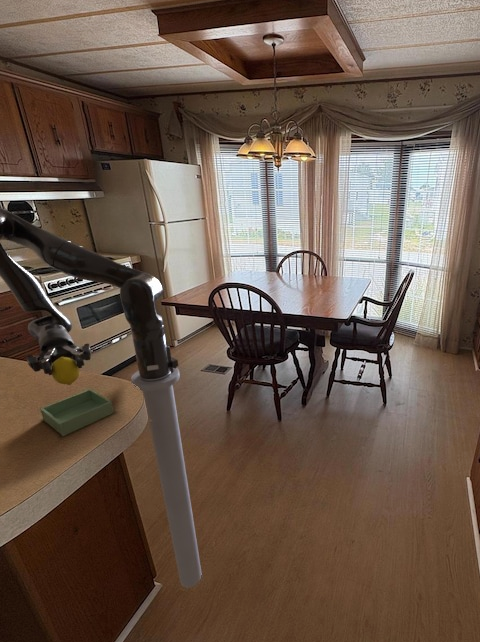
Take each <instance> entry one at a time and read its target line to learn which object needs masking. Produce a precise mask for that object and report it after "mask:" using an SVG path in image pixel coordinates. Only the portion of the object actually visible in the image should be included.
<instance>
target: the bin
mask: <svg viewBox="0 0 480 642" xmlns="http://www.w3.org/2000/svg"><path fill="white" fill-rule="evenodd" d="M39 411H40V413H41V416H42V420H43V421H44V422H45V423H47V424H48V425H49V426H50V427H52V428H53V429H54V430H55V431H56V432H57V433H58V434H60V435H61V436H62V437H64V436H68V435H69V434H71V433H73V432H76V431H78V430H80V429H82V428H84V427H86V426H89V425H91V424H93V423H95V422H98V421H100V420H102V419H103V418H106V417H108V416H110V415H112V414H114V413H115V411H114V406H113V403H112V401H111V400H110V399H108V398H106V397H105V396H103V395H102V394H100V393H99V392H96V391H95V390H93V389H92V388H89V389H87V390H84V391H82V392H79V393H76V394H74V395H71V396H69V397H66V398H63V399H61V400H58V401H56V402H53V403H50V404H48V405H45V406H43V407H40V408H39Z"/></svg>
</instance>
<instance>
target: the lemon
mask: <svg viewBox="0 0 480 642" xmlns="http://www.w3.org/2000/svg"><path fill="white" fill-rule="evenodd" d="M51 371H52V375H51V376H52V378H53V380H55V381H56V383H58V384H62V385H67V386H71V385H72V383H74V382H75V381H77V380H78V379H79V377H80V368H78V365H77V363H76V362H75V361H74V360H73V359H71V358H67V357H60V358H59V359H57V360H56V361H54V363H53V364H52V367H51Z"/></svg>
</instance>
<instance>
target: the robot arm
mask: <svg viewBox="0 0 480 642" xmlns="http://www.w3.org/2000/svg"><path fill="white" fill-rule="evenodd" d="M0 241H9V242H12V243H15V244H17V245H20V246H22V247H25V248H27V249H29V250H31V251H32V252H33V253H35V255H36V256H37V257H38V258H39V259H41V261H43V263H44V264H45V265H47V266H48V267H50V268H51V269H54V270H55V271H57V272H60V273H62V274H65V275H68V276H70V277H72V278H74V279H75V278H76V279H80V280H84V281H90V282H96V283H101V284H106V285H110V286H113V287H116V288H119V289H120V290H119V297H120V301H121V306H122V309H123V310H122V311H123V313H124V317H125V320H126V321H127V323H128V324H129V327H130V332H131V337H132V343H133V348H134V352H135V358H136V363H137V368H138V371H139V376H140V379H141V380H143V381H158V380H162V379H164V378H166V377H168V376H169V375H170V374H171V373H172V372H173V368H175V369H176V367H177V368H178V367H179V360H178V359H177V358H174V357H172V354H171V346H170V345H167V339H166V333H165V327H164V320H163V317H162V315H159V314H157V310H156V306H155V305H156V304H155V302H156V301H158V300H159V299H160V297H161V296H162V295H163V292H164V291H163V285H162V284H161V281H160V280H159V279H158V278H156V277H155V276H154V275H152V274H149V273H147V272H145V271H141V270H139V269H135V268H133V267H130V266H127V265H123V264H121V263H118V262H116V261H114V260H113V259H110V258H108V257H105V256H103V255H102V254H99V253H97V252H95V251H92V250H90V249H89V248H86V247H85V246H82V245H79V244H77V243H75V242H74V241H71V240H69V239H66V238H63V237H61V236H59V235H57V234H55V233H53V232H50V231H48V230H45V229H43V228H41V227H38V226H36V225H35V224H32V223H30V222H29V221H27V220H25V219H23V218H21V217H20V216H18V215H16V214H15V213H13V212H11V211H9V210H7V209H5V208H3V207H0ZM0 278H1V279H2V280H3V282H5V284H6V286H7V287H8V289H9V290H10V292H11V293H12V295H13V296H14V298H15V299H16V301H17V302H18V304H19V305H20V307H21V309H22V310H23V311H24V312H26V313H34V312H36V313H37V312H42V311H43V312H47V313H48V315H45V316H42V317H39V318H35V319H33V320H32V321H30V322H29V323H28V325H27V330H28V333H29V334H30V336H31V337H32V338H33V339H34V340H36V341H37V342H38V346H39V351H40V353H39V354H38V355H33V354H28V355H25V358H26V362H27V365H28V366H29V368H31V369H32V370H33V372H35V373H36V372H40V371H41V370H42V371H43V373H44V374H45V375H48V376H52V371H51V368H52V364H53V363H54V361H56V360H57V359H59V358H60V357H67V358H71V359H73V360H74V361H75V362H76V364H77V365H78V368H79V369H82V368H83V366H85V361H90V360H91V358H92V357H91V356H92V350H91V346H90V343H84V344H83V345H82V346H78V345H76V344H75V343H74V340H73V338H72V336H71V334H69V333H70V332H71V331H72V328H73V324H72V321H71V320H70V318H69V317H68V316H67V315H66V314H64V313H63V312H62V311H61V310H60V309H59V308H58V307H57V306H56V305H55V304H54V303H53V301H51V299H50V298H49V296H48V295H47V293H46V291H45V290H44V288H43V286H42V285H41V283H40V282H39V280H38V279H37V278H36V276H35V275H34V274H32V273H31V272H30V271H29V270H27V269H26V268H25V267H23V266H22V265H21V264H20V263H18V262H17V261H16V260H14V259H13V257H12V256H10V254H9V253H8V251H6V249H5V248H4V247H3V245H2V243H1V242H0Z"/></svg>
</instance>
